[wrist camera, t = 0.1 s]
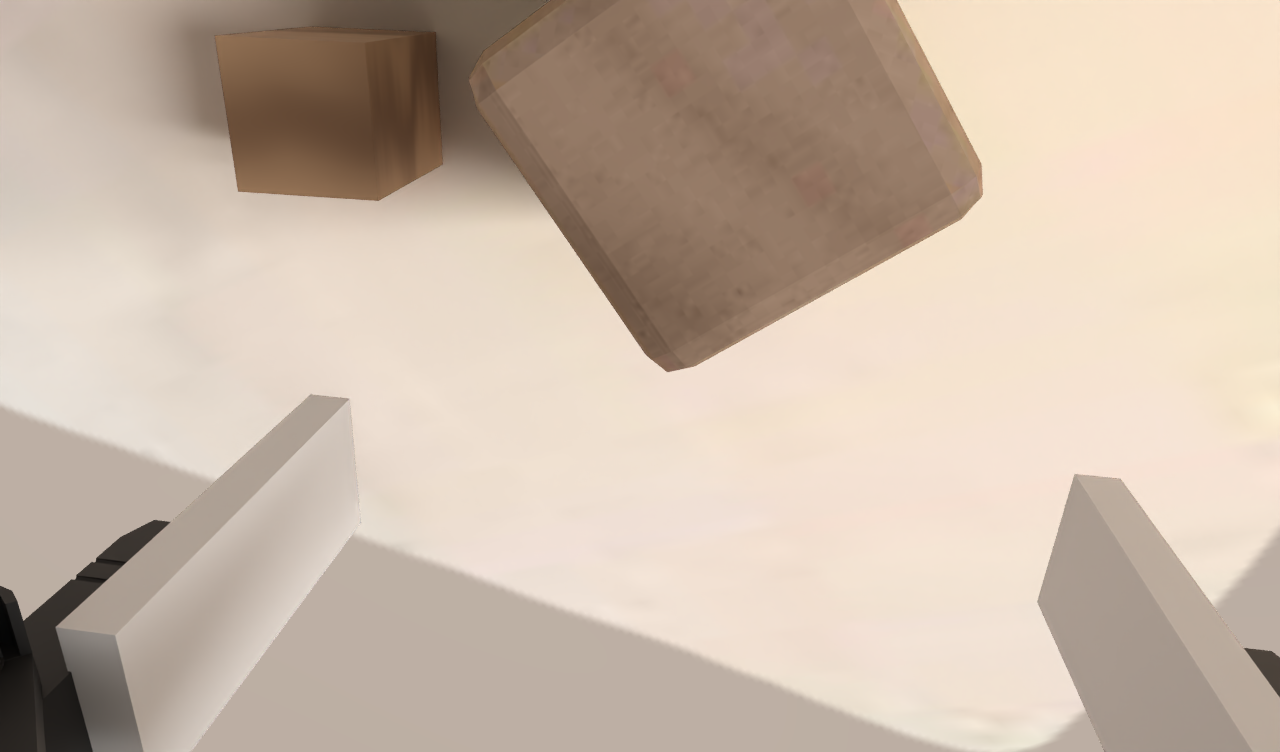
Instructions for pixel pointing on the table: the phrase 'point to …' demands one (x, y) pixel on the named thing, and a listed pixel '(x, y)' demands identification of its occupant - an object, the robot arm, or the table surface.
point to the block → (726, 152)
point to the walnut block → (331, 110)
